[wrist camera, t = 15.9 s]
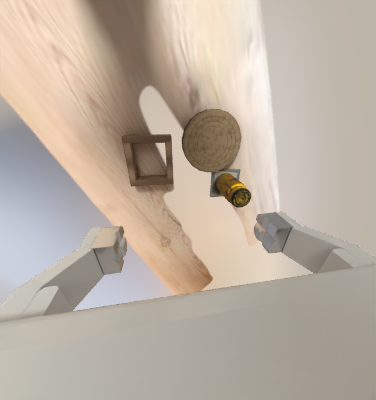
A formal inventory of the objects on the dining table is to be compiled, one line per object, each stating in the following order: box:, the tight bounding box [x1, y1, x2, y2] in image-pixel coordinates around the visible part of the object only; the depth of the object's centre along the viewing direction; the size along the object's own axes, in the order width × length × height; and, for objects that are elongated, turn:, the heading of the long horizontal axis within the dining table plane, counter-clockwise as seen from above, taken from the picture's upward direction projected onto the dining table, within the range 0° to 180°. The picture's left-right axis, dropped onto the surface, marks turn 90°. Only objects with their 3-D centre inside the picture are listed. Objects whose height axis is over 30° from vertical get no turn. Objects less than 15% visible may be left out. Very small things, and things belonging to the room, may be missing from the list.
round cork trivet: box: [182, 109, 241, 172], centre depth 42 cm, size 16×16×3 cm
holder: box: [122, 135, 173, 186], centre depth 41 cm, size 13×12×4 cm
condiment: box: [211, 171, 251, 207], centre depth 44 cm, size 7×8×12 cm
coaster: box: [210, 169, 240, 197], centre depth 50 cm, size 9×9×1 cm
